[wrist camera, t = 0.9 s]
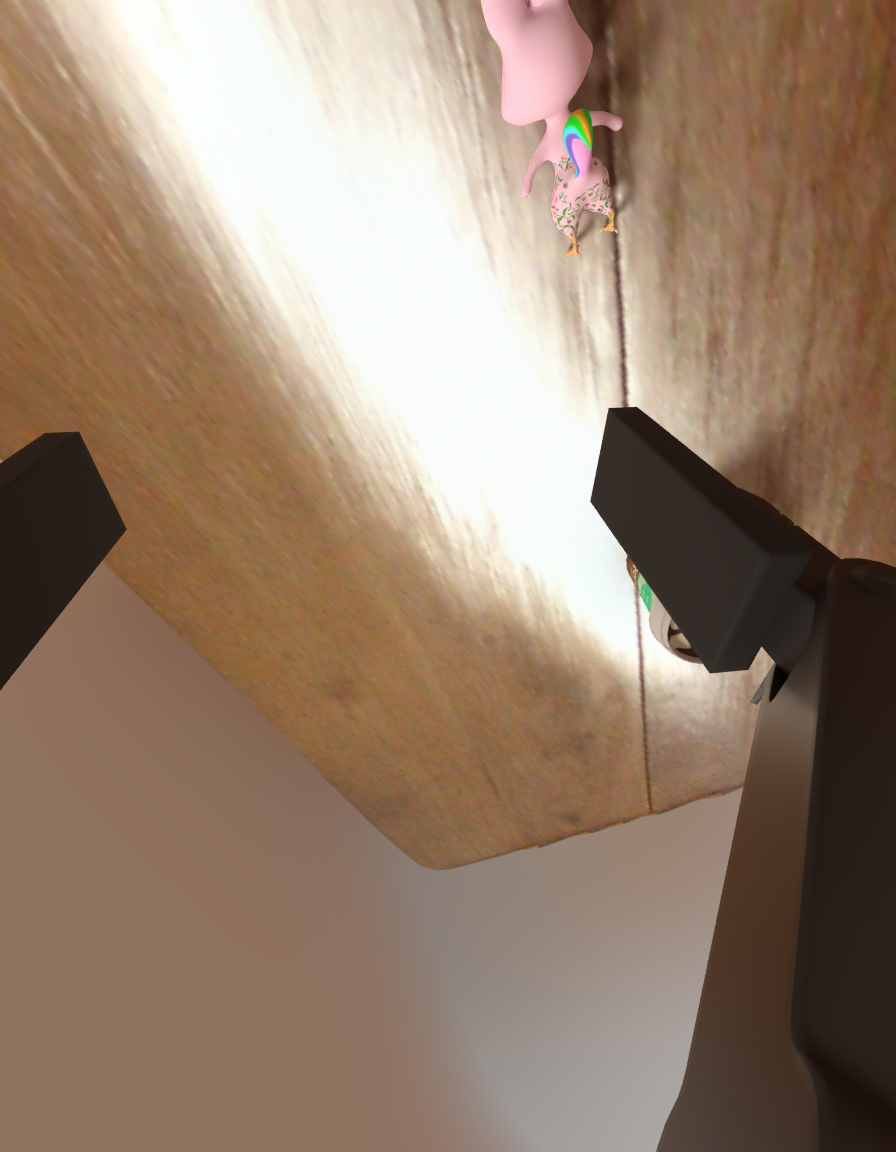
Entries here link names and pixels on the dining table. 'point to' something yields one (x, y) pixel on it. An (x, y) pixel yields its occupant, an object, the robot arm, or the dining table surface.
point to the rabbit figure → (553, 103)
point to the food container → (662, 620)
